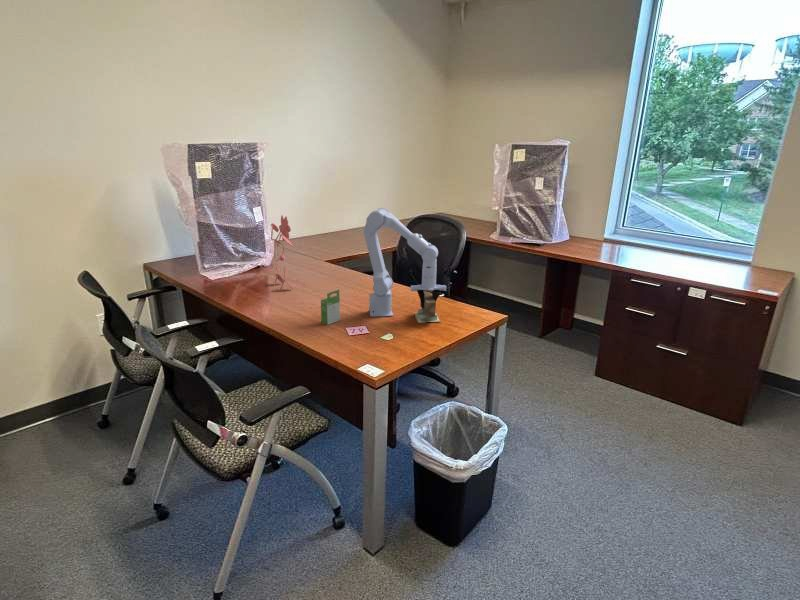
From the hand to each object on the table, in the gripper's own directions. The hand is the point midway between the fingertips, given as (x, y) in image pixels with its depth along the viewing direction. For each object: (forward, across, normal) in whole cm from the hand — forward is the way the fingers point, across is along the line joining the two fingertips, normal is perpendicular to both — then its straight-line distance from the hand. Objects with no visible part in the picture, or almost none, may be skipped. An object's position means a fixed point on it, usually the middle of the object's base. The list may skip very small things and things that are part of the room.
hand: (427, 307), depth 199 cm
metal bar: (+2, 0, 0) cm, 2 cm away
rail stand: (+5, 0, 0) cm, 5 cm away
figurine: (+5, -60, +47) cm, 76 cm away
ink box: (+5, -40, -1) cm, 40 cm away
